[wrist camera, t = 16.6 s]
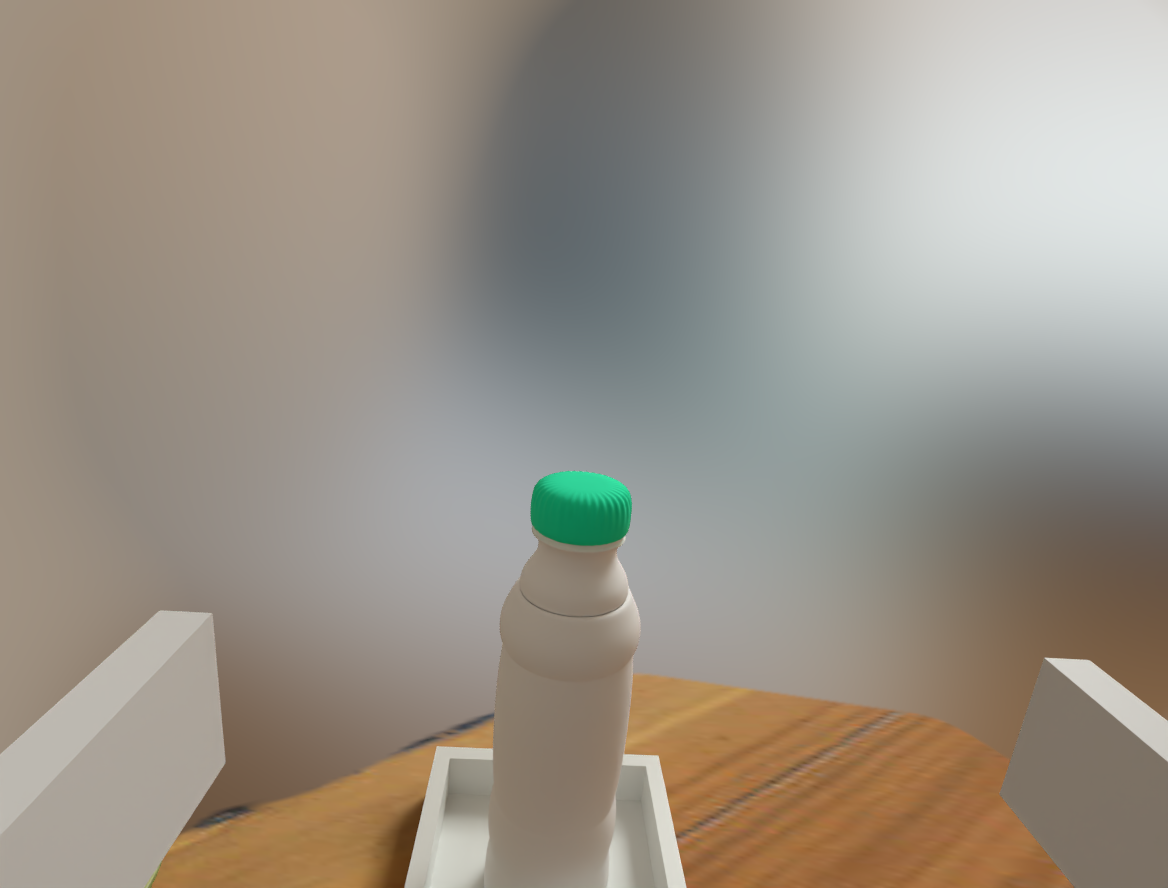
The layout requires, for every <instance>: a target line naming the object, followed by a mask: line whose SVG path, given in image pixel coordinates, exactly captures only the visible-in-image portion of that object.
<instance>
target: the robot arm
mask: <svg viewBox="0 0 1168 888" xmlns="http://www.w3.org/2000/svg"><path fill="white" fill-rule="evenodd" d="M224 764H225V752H224V741H223V730H222V719H221V706H220V695H219V684H218V673H217V661H216V649H215V638H214V627H213V615H212V613H198V612H179V611H159V612H158V613H156V614H155V615H154V616H153V617H152V618H151V619H150V620H149V621H148V622H146V623H145V624H144V625H143V626H142V627H141V628H140V629H139V630H138V631H136V632H135V633H134V634H133V635H132V636H131V637H130V638H129V639H128V640H127V641H125V642H124V643H123V644H122V645H121V646H120V647H119V648H118V649H117V650H115V652H113V653H112V654H111V655H110V656H109V657H108V658H107V659H105V660H104V661H103V662H102V663H101V664H100V665H99V666H98V667H97V668H96V669H94V670H93V671H92V672H91V673H90V674H89V675H88V676H87V677H86V678H84V679H83V680H82V681H81V682H80V683H79V684H78V685H77V686H76V687H74V688H73V689H72V690H71V691H70V692H69V693H68V694H67V695H66V696H65V697H63V698H62V699H61V700H60V701H59V702H58V703H57V704H56V705H55V706H53V707H52V708H51V709H50V710H49V711H48V712H47V713H46V714H45V715H43V716H42V717H41V718H40V719H39V720H38V721H37V722H36V723H35V724H34V725H33V726H31V727H30V728H29V729H28V730H27V731H26V732H25V733H24V734H22V735H21V736H20V737H19V738H18V739H17V740H16V741H15V742H14V743H12V745H10V746H9V747H8V748H7V749H6V750H5V751H4V752H2V753H1V754H0V888H144V887H145V886H146V884H147V883H148V881H149V880H150V878H151V876H152V875H153V873H154V872H155V870H156V869H157V867H158V866H159V864H160V863H161V861H162V860H163V858H164V856H165V855H166V853H167V852H168V850H169V849H170V847H171V846H172V844H173V843H174V841H175V840H176V838H177V837H178V835H179V833H180V832H181V830H182V829H183V827H184V826H185V824H186V823H187V821H188V820H189V818H190V817H191V815H192V813H193V812H194V810H195V809H196V807H197V805H198V804H199V803H200V801H201V800H202V798H203V797H204V795H205V793H206V792H207V790H208V789H209V787H210V786H211V784H212V783H213V781H214V779H215V778H216V777H217V775H218V773H219V772H220V770H221V769H222V767H223V766H224ZM1000 796H1001V797H1002V798H1003V799H1004V800H1005V802H1006V803H1007V804H1008V805H1009V807H1010V808H1011V809H1012V810H1013V812H1014V813H1015V814H1016V815H1017V817H1018V818H1019V819H1020V820H1021V822H1022V823H1023V824H1024V825H1025V827H1026V828H1027V829H1028V830H1029V831H1030V833H1031V834H1032V835H1033V836H1034V838H1035V839H1036V840H1037V841H1038V843H1039V844H1040V845H1041V846H1042V848H1043V849H1044V850H1045V851H1046V853H1047V854H1048V855H1049V856H1050V857H1051V859H1052V860H1053V861H1054V862H1055V864H1056V865H1057V866H1058V867H1059V869H1060V870H1061V871H1062V872H1063V874H1064V875H1065V876H1066V877H1067V879H1068V880H1069V881H1070V882H1071V884H1072V885H1073V886H1074V887H1075V888H1168V721H1167V720H1165V719H1164V718H1163V717H1162V716H1160V715H1159V714H1158V713H1156V712H1155V711H1154V710H1153V709H1151V708H1150V707H1149V706H1148V705H1146V704H1145V703H1144V702H1142V701H1141V700H1140V699H1138V698H1137V697H1136V696H1135V695H1133V694H1132V693H1131V692H1129V691H1128V690H1127V689H1126V688H1124V687H1123V686H1122V685H1121V684H1119V683H1118V682H1117V681H1115V680H1114V679H1113V678H1111V677H1110V676H1109V675H1108V674H1106V673H1105V672H1104V671H1102V670H1101V669H1100V668H1099V667H1097V666H1096V665H1095V664H1093V663H1092V662H1091V661H1090V660H1076V659H1058V658H1057V659H1056V658H1044V661H1043V663H1042V667H1041V670H1040V673H1039V676H1038V679H1037V682H1036V685H1035V688H1034V691H1033V694H1032V697H1031V700H1030V703H1029V706H1028V709H1027V712H1026V715H1025V718H1024V721H1023V725H1022V727H1021V730H1020V734H1019V737H1018V740H1017V743H1016V746H1015V749H1014V752H1013V755H1012V758H1011V761H1010V764H1009V767H1008V770H1007V773H1006V776H1005V779H1004V782H1003V785H1002V788H1001V791H1000Z"/></svg>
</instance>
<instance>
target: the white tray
mask: <svg viewBox="0 0 1168 888" xmlns="http://www.w3.org/2000/svg"><path fill="white" fill-rule="evenodd" d="M493 784H494V776H493V749H485V748H461V747H438V746H437V748H436V753H435V757H434V761H433V766H432V770H431V774H430V779H429V783H428V787H427V792H426V796H425V800H424V805H423V809H422V813H421V818H420V822H419V826H418V831H417V835H416V839H415V844H414V848H413V852H412V857H411V861H410V865H409V870H408V874H407V878H406V883H405V887H404V888H484V871H485V860H486V852H487V846H488V841H489V828H488V814H489V802H490V796H491V791H492V787H493ZM615 796H616V819H615V827H614V833H613V838H612V842H611V845H610V848H609V855H610V860H609V876H608V885H607V888H686V884H685V879H684V875H683V870H682V865H681V860H680V856H679V851H678V846H677V842H676V837H675V832H674V827H673V823H672V818H671V813H670V809H669V804H668V799H667V794H666V790H665V785H664V780H663V775H662V771H661V766H660V761H659V757H658V756H653V755H629V754H624V756H623V762H622V767H621V772H620V777H619V781H618V786H617V790H616V794H615Z"/></svg>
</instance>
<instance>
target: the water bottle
mask: <svg viewBox="0 0 1168 888" xmlns="http://www.w3.org/2000/svg"><path fill="white" fill-rule="evenodd" d="M631 511H632V502H631V495H630V492H629V491H628V489H627V488H626V487H625V486H624V485H623V484H622V483H620V482H619V481H617V480H615V479H613V478H611V477H608V476H606V475H601V474H595V473H589V472H582V471H579V472H576V471H572V472H570V471H566V472H559V473H554V474H551V475H548V476H546V477H544V478H542V479H540V480H539V481H538V483H537V484H536V485H535V487H534V490H533V494H532V500H531V522H532V525H533V527H532V532H533V534H534V536H535V537H536V538H537V539H538V541H539V544H538V548H537V550H536V551H535V553H534V554H533V555H532V556H531V557H530V559H529V560H528V561H527V563H526V564H525V566H524V568H523V570H522V573H521V576H520V577H519V579H518V580H517V581H516V583H515V585H514V586H513V588H512V589H511V591H510V593H509V594H508V596H507V598H506V600H505V602H504V605H503V607H502V611H501V617H500V633H501V639H502V642H503V645H502V651H501V656H500V663H499V670H498V679H497V689H496V701H495V715H494V735H493V776H494V784H493V787H492V791H491V796H490V802H489V814H488V828H489V841H488V846H487V852H486V860H485V871H484V888H607V885H608V876H609V860H610V855H609V848H610V845H611V842H612V838H613V833H614V827H615V819H616V796H615V794H616V790H617V786H618V781H619V777H620V772H621V767H622V762H623V756H624V749H625V743H626V735H627V728H628V720H629V712H630V702H631V691H632V676H633V655H634V653H635V651H636V649H637V646H638V642H639V638H640V628H641V627H640V617H639V612H638V609H637V606H636V603H635V601H634V598H633V596H632V593H631V591H630V589H629V587H628V580H627V576H626V574H625V571H624V569H623V567H622V565H621V564H620V562H619V560H618V558H617V548H618V547H620V546H621V545H622V544H623V543H624V542H625V539H626V536H625V535H626V533H627V532H628V529H629V526H630V520H631Z"/></svg>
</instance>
